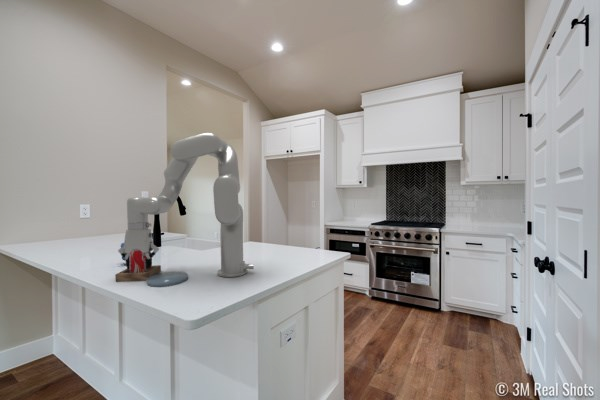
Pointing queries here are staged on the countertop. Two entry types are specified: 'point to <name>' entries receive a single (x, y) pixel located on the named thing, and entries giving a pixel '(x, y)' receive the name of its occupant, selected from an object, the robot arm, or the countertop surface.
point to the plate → (167, 279)
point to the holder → (137, 274)
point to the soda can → (137, 262)
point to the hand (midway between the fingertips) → (139, 267)
